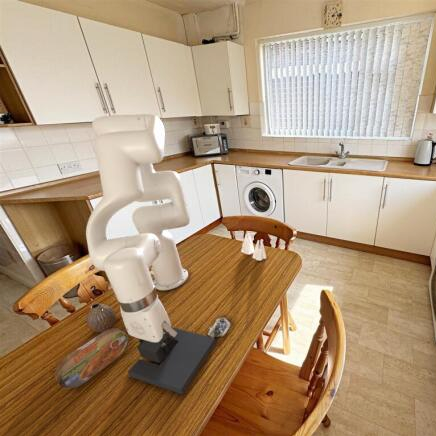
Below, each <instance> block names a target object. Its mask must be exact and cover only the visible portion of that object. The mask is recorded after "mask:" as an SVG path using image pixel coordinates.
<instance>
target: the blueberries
mask: <svg viewBox="0 0 436 436" xmlns="http://www.w3.org/2000/svg"><path fill="white" fill-rule="evenodd" d="M231 324H232V323H231V322H230V320H228V319H227V318H226V317H219V318H217V319H216V320H215V322H214V323H213V324H211V327H210V326H209V329H208V330H207V332H206V335H207V336H208V337H211V338H215V339H216V338H219V337H221V338H222V337H225V335H226V334H227V333H228V331H229V329H230V328H231Z"/></svg>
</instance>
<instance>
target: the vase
mask: <svg viewBox="0 0 436 436" xmlns="http://www.w3.org/2000/svg"><path fill="white" fill-rule="evenodd" d="M85 319H86V325H87V327H88V328H89V330H91V331H93V332H94V333H102V332H104V331H106V330H109V329H112V327H113V326H114V325H115V323H116V320H117V314H116V312H115V309H113V307H111V306H110V305H107V304H102V303H100V302H95V303H93V304H92V305H90V307H89V311H88V313H87V315H86V318H85Z"/></svg>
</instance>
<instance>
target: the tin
mask: <svg viewBox="0 0 436 436" xmlns="http://www.w3.org/2000/svg"><path fill="white" fill-rule="evenodd" d="M128 345H129V334H127V332H125V331H123V330H122V329H120V328H110V329H108V330H106V331H104V332H100V333H99V334H98V335H96V336H95V337H93V338H92V339H90V340H88V341H87V342H85V343H84V344H83V345H81V346H80V347H77V349H75V350H74V351H72V352H71V353H69V354H68V355H66V356H65V357H64V358H63V359H62V360H61V361H60V362H59V364H58V365H57V367H56V369H55V372H54V377H55V380H56V381H57V384H58V386H59V387H61V388H63V389H74V388H77V387H79V386H82V385H84V384H85V383H87V382H88V381H89V380H91V379H92V378H93V377H95V376H96V375H97V374H99V373H100V372H101V371H103V369H105V368H107V366H109V365H110V364H112V363H113V362H114V361H116V360H117V359H118V358H120V356H122V354H123V353H124V352H125V351H126V350H127V347H128Z"/></svg>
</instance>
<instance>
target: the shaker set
mask: <svg viewBox="0 0 436 436" xmlns="http://www.w3.org/2000/svg"><path fill="white" fill-rule="evenodd" d="M241 245H242V246H241V249H240V252H241V253H243V254H245V255H249V256H250V255H252V257H251V258H252V259H255V261H262V260H266V259H267V254H266V249H265V244H264V242H263V240H262V239H260V240H259V239H258V240H257V242H256V244H255V245H254V243H253V239H252V235H251V233H246V234H245V236H244V238H243V241H242V244H241Z"/></svg>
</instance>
